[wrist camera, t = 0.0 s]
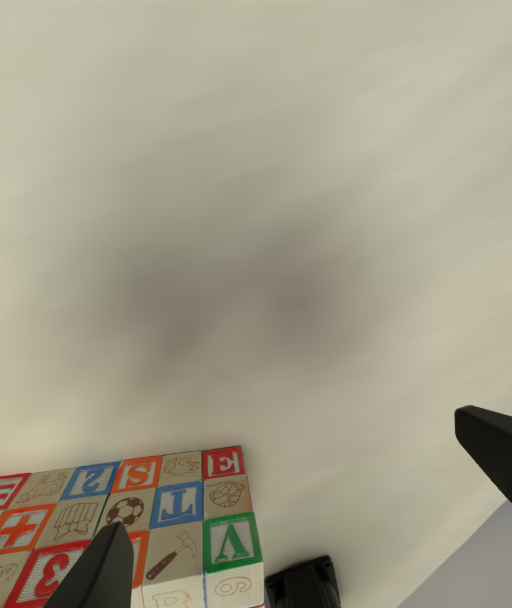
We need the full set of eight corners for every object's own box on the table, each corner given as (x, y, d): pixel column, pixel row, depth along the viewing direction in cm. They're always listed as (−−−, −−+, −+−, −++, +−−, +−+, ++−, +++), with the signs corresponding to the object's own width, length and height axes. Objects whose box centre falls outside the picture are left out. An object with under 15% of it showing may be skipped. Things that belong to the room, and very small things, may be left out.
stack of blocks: (242, 441, 25) (282, 636, 13) (244, 505, 26) (281, 730, 14) (-69, 483, 21) (-408, 809, 9) (-46, 554, 23) (-311, 911, 11)
